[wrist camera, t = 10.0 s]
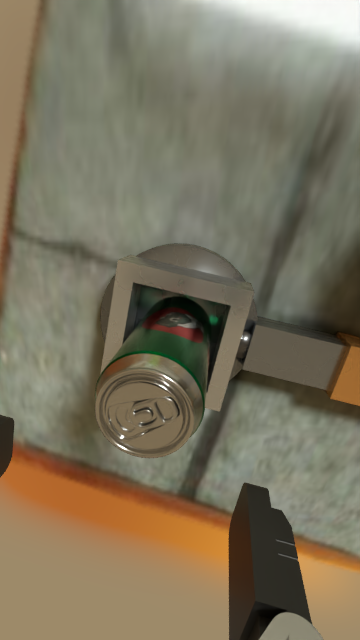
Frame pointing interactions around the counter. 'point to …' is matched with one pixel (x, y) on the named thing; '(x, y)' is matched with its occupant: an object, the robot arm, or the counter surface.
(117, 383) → the soda can
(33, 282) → the counter surface
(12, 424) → the robot arm
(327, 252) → the counter surface
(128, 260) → the ratchet
